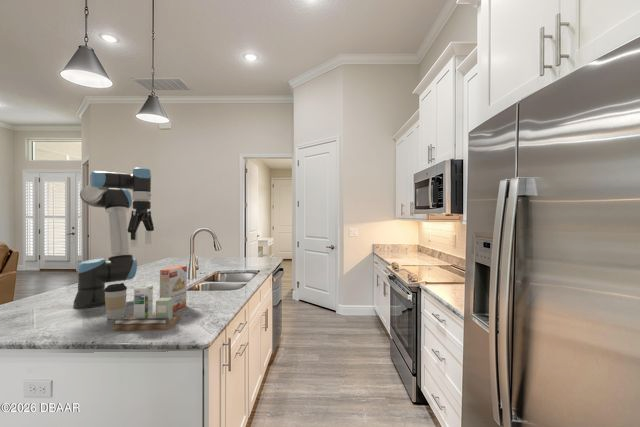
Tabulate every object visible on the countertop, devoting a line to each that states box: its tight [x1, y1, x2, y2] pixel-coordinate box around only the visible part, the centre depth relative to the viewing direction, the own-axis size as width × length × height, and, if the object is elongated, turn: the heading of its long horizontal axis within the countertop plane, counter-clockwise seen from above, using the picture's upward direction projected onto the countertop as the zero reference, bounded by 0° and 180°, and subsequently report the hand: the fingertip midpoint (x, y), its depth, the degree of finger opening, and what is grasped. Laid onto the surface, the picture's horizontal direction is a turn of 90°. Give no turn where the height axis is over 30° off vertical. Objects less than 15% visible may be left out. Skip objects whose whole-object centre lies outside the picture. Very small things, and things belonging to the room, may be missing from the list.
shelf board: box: [112, 313, 182, 331], centre depth 141 cm, size 22×14×4 cm, turn 93°
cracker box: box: [158, 265, 188, 312], centre depth 163 cm, size 14×6×21 cm, turn 168°
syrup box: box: [133, 285, 154, 318], centre depth 140 cm, size 6×6×14 cm
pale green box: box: [155, 297, 174, 321], centre depth 140 cm, size 5×5×9 cm
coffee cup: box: [104, 282, 128, 320], centre depth 151 cm, size 9×9×15 cm
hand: (141, 245), depth 154 cm, fingers open, 13 cm apart
